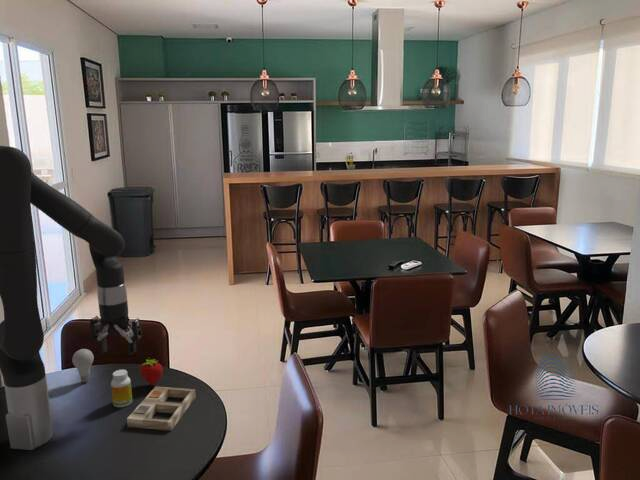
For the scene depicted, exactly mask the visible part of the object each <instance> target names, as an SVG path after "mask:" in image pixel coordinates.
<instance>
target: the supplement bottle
mask: <svg viewBox="0 0 640 480" xmlns="http://www.w3.org/2000/svg"><path fill="white" fill-rule="evenodd" d="M110 388H111V398H112V399H111V400H112V405H113V406H114V407H116V408H124V407H127V406H129V405H130V404H132V403H133V392H132V390H133V389H132V381H131V378H130V377H129V375H128V371H127V370H126V369H118V370H115V371H114V372H113V373H112V380H111V382H110Z"/></svg>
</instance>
